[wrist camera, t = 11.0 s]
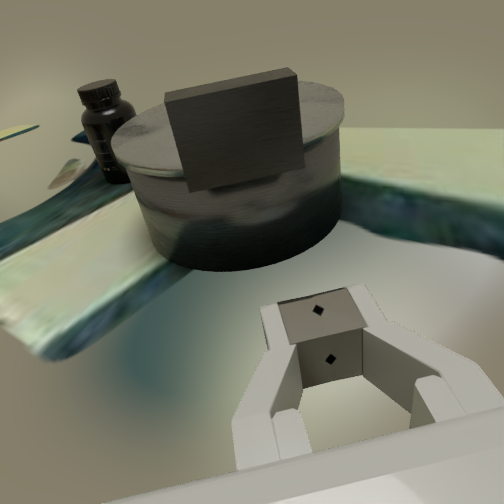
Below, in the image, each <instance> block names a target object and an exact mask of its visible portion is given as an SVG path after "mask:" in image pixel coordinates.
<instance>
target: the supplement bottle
mask: <svg viewBox="0 0 504 504" xmlns="http://www.w3.org/2000/svg"><path fill="white" fill-rule="evenodd" d="M77 91H78V93H79V96H80V99H81V102H82V105H84V106H85V107H86V110H85V111H84V112H83V114H82V118H81V121H82V125H83V127H84V130H85V132H86V134H87V137H88V139H89V141H90V144H91V146H92V148H93V151H94V153H95V155H96V158H97V160H98V163H99V165H100V167H101V170H102V172H103V174H104V176H105V178H106V179H107V180H108V181H109V182H112V183H126V182H130V178H129V176H128V173H127V170H126V168H125V167H123V166H122V165H121V164H119V162H118V161H117V159H116V157H115V155H114V152H113V149H112V146H111V140H112V137H113V135H114V133H115V132H116V131H117V130H118V129H119V128H120V127H121V126H122V125H123V124H124V123H126V122H127V121H129V120H130V119H132V118H133V117H135V116H137V115H136V112H135V110H134V107H133V106H132V105H131V104H130V103H129V102H127V101H125V100H122V99H121V98H120V96H121V92H120V90H119V88H118V85H117V82H116V80H115V79H106V80H100V81H96V82H92V83H90V84H86V85H84V86H82V87H80V88H79V89H78V90H77Z"/></svg>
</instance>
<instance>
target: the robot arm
mask: <svg viewBox="0 0 504 504" xmlns="http://www.w3.org/2000/svg"><path fill="white" fill-rule="evenodd" d="M259 309H260V314H261V319H262V324H263V329H264V334H265V339H266V344H267V348H268V350H267V351H264V353H263V356H262V358H261V360H260V362H259V364H258V366H257V368H256V370H255V372H254V375H253V377H252V379H251V381H250V383H249V385H248V387H247V389H246V391H245V393H244V395H243V397H242V400H241V402H240V404H239V406H238V408H237V410H236V412H235V414H234V416H233V419H232V421H231V424H232V433H233V441H234V449H235V459H236V467H237V471H233V472H229V473H225V474H221V475H216V476H213V477H208V478H204V479H200V480H196V481H192V482H187V483H184V484H180V485H175V486H171V487H167V488H163V489H159V490H155V491H151V492H146V493H142V494H138V495H134V496H130V497H126V498H122V499H118V500H114V501H109V502H105V503H101V504H504V398H503V396H502V395H501V394H500V392H499V391H498V390H497V389H496V387H495V386H494V385H493V383H492V382H491V381H490V380H489V378H488V377H487V376H486V374H485V373H484V372H483V371H482V369H481V368H480V367H479V366H478V364H477V363H475V362H473V361H471V360H469V359H467V358H465V357H463V356H461V355H459V354H457V353H455V352H453V351H451V350H449V349H447V348H445V347H443V346H441V345H439V344H438V343H436V342H433V341H431V340H430V339H428V338H426V337H424V336H422V335H420V334H418V333H416V332H414V331H412V330H410V329H408V328H406V327H404V326H402V325H400V324H398V323H396V322H394V321H392V322H388V321H387V319H386V318H385V316H384V314H383V313H382V311H381V310H380V308H379V306H378V305H377V303H376V302H375V300H374V299H373V297H372V295H371V294H370V292H369V290H368V289H367V287H366V285H365V284H363V283H359V284H355V285H351V286H347V287H345V288H339V289H335V290H331V291H327V292H323V293H318V294H314V295H311V296H306V297H301V298H296V299H291V300H286V301H282V302H277V303H274V304H268V305H263V306H260V307H259ZM359 375H363V377H364V378H366V379H367V380H368V381H370V382H371V383H372V384H374V385H375V386H376V387H377V388H378V389H380V390H381V391H382V392H384V393H385V394H386V395H388V396H389V397H390V398H391V399H393V400H394V401H395V402H396V403H398V404H399V405H400V406H402V407H403V408H404V409H405V410H407V411H408V412H409V413H410V414H411V419H410V427H409V429H407V430H403V431H399V432H395V433H390V434H386V435H382V436H378V437H374V438H370V439H366V440H362V441H358V442H354V443H350V444H345V445H341V446H337V447H333V448H328V449H324V450H320V451H316V452H312V449H311V446H310V442H309V439H308V436H307V432H306V429H305V426H304V422H303V420H302V416H301V412H300V411H298V407H299V403H300V400H301V397H302V393H303V389H305V388H308V387H312V386H316V385H319V384H323V383H327V382H331V381H335V380H340V379H345V378H349V377H355V376H359Z"/></svg>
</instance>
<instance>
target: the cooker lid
mask: <svg viewBox="0 0 504 504" xmlns="http://www.w3.org/2000/svg"><path fill="white" fill-rule="evenodd" d="M343 118H344V98H343V96H342V95H341V93H339V92H338V91H337V90H335V89H334V88H331V87H329V86H326V85H322V84H319V83H313V82H306V81H298V80H297V74H295V73H294V72H293V71H292V70H291V69H289V68H288V67H287V68H282V69H277V70H272V71H268V72H263V73H258V74H254V75H249V76H244V77H238V78H234V79H229V80H224V81H219V82H214V83H210V84H205V85H200V86H195V87H190V88H185V89H181V90H176V91H171V92H166V93H165V99H164V103H163V104H160V105H158V106H155V107H153V108H151V109H148V110H146V111H144V112H142V113H140V114H139V115H137V116H135V117H133V118H132V119H130V120H129V121H127V122H126V123H124V124H123V125H122V126H121V127H120V128H119V129H118V130H117V131H116V132H115V133H114V135H113V137H112V140H111V146H112V149H113V152H114V155H115V157H116V159H117V161H118V162H119V164H121V165H122V166H123V167H125V168H127V169H129V170H131V171H134V172H138V173H141V174H146V175H152V176H163V177H185V179H186V183H187V186H188V190H189V193H193V192H197V191H202V190H207V189H211V188H216V187H220V186H225V185H230V184H234V183H239V182H244V181H248V180H253V179H257V178H262V177H267V176H271V175H276V174H281V173H285V172H290V171H294V170H299V169H304V168H305V159H304V150H305V149H307V148H310V147H311V146H313V145H315V144H317V143H319V142H320V141H322V140H324V139H325V138H326V137H328V136H329V135H331V134H332V133H333V132H334V131H335V130H336V129H337V128H338V127H339V126H340V124H341V123H342V121H343Z"/></svg>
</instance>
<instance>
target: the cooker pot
mask: <svg viewBox="0 0 504 504" xmlns="http://www.w3.org/2000/svg"><path fill="white" fill-rule="evenodd" d="M304 159H305V168H304V169H299V170H294V171H290V172H285V173H281V174H276V175H271V176H267V177H262V178H257V179H253V180H248V181H244V182H239V183H234V184H230V185H225V186H220V187H216V188H211V189H207V190H202V191H197V192H193V193H189V190H188V186H187V183H186V179H185V177H163V176H152V175H146V174H141V173H138V172H134V171H131V170H129V169H127V168H126V170H127V173H128V176H129V178H130V181H131V184H132V187H133V189H134V192H135V195H136V198H137V200H138V203H139V206H140V208H141V211H142V214H143V217H144V219H145V222H146V225H147V228H148V230H149V233H150V236H151V239H152V241H153V244H154V246H155V247H156V249H157V251H158V252H159V253H160V254H161V255H162V256H163V257H165V258H166V259H168V260H169V261H171V262H173V263H176V264H178V265H180V266H184V267H187V268H190V269H196V270H201V271H213V272H232V271H242V270H249V269H255V268H260V267H264V266H268V265H272V264H276V263H278V262H281V261H284V260H287V259H290V258H292V257H294V256H296V255H298V254H301V253H302V252H304V251H306V250H308V249H309V248H311V247H313V246H314V245H316V244H317V243H318V242H320V241H321V240H322V239H324V238H325V237H326V236H327V235H328V234H329V233H330V232H331V230H332V229H333V228H334V227H335V225H336V224H337V222H338V220H339V218H340V215H341V211H342V203H341V172H340V142H339V127H338V128H337V129H336V130H335V131H334V132H333V133H332V134H331V135H329V136H328V137H326V138H325V139H324V140H322V141H320V142H319V143H317V144H315V145H313V146H311V147H310V148H307V149H305V150H304Z"/></svg>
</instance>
